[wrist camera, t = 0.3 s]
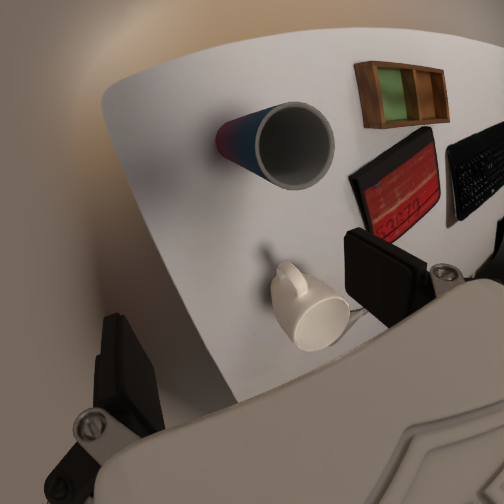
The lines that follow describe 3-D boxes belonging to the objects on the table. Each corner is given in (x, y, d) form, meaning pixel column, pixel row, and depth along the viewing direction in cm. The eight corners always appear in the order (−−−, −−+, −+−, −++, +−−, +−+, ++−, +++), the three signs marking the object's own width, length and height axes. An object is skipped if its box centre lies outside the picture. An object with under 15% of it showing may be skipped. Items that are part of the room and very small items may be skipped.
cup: (257, 171, 36) (325, 195, 23) (204, 164, 33) (247, 184, 20) (266, 119, 33) (341, 115, 21) (213, 108, 31) (264, 91, 18)
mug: (313, 286, 46) (356, 325, 36) (270, 316, 45) (306, 362, 36) (286, 227, 40) (334, 259, 30) (235, 260, 39) (270, 304, 30)
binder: (357, 179, 39) (432, 126, 41) (347, 175, 41) (422, 124, 43) (378, 258, 47) (443, 199, 49) (370, 253, 49) (435, 195, 51)
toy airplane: (379, 311, 56) (386, 316, 54) (295, 366, 53) (300, 373, 51) (377, 283, 52) (385, 289, 50) (285, 341, 49) (291, 349, 47)
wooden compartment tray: (353, 63, 34) (371, 60, 31) (427, 70, 39) (443, 69, 35) (364, 127, 39) (382, 129, 35) (433, 120, 43) (450, 122, 40)
